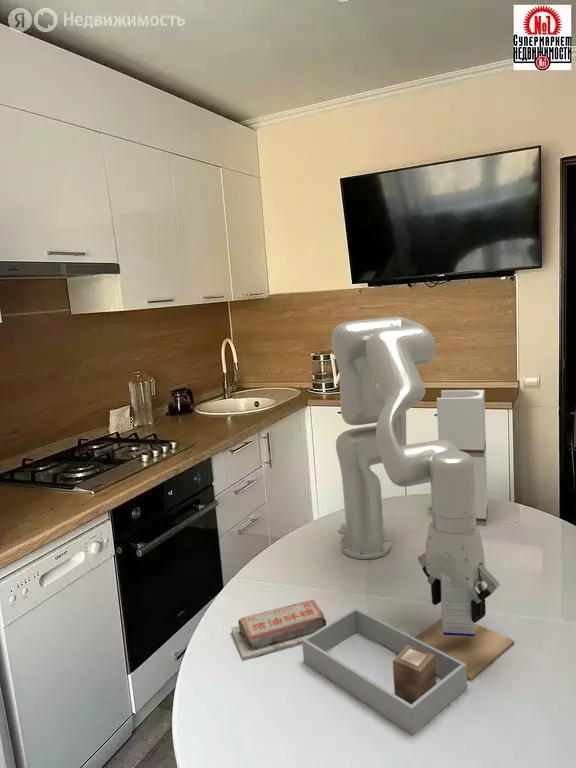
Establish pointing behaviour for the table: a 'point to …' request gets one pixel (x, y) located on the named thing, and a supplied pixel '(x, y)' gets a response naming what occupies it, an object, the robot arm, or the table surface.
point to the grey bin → (373, 693)
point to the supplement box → (456, 609)
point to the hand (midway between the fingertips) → (457, 609)
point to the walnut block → (413, 673)
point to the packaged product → (277, 629)
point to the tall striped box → (467, 436)
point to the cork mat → (468, 646)
